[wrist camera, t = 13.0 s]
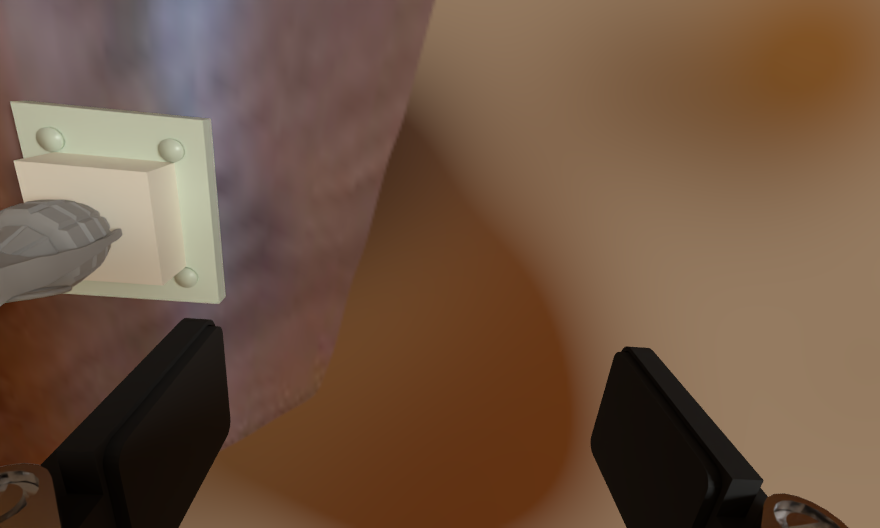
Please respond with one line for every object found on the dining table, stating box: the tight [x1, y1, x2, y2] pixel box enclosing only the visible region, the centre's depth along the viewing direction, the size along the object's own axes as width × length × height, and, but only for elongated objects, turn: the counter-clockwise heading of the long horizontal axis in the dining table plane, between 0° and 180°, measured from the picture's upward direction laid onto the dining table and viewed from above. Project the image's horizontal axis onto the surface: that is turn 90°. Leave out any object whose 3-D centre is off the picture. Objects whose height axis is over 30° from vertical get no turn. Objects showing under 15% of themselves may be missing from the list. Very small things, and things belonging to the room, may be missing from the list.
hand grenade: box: [0, 199, 123, 306], centre depth 29 cm, size 6×6×11 cm
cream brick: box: [14, 152, 186, 286], centre depth 36 cm, size 9×9×4 cm
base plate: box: [10, 101, 226, 304], centre depth 38 cm, size 16×14×2 cm
